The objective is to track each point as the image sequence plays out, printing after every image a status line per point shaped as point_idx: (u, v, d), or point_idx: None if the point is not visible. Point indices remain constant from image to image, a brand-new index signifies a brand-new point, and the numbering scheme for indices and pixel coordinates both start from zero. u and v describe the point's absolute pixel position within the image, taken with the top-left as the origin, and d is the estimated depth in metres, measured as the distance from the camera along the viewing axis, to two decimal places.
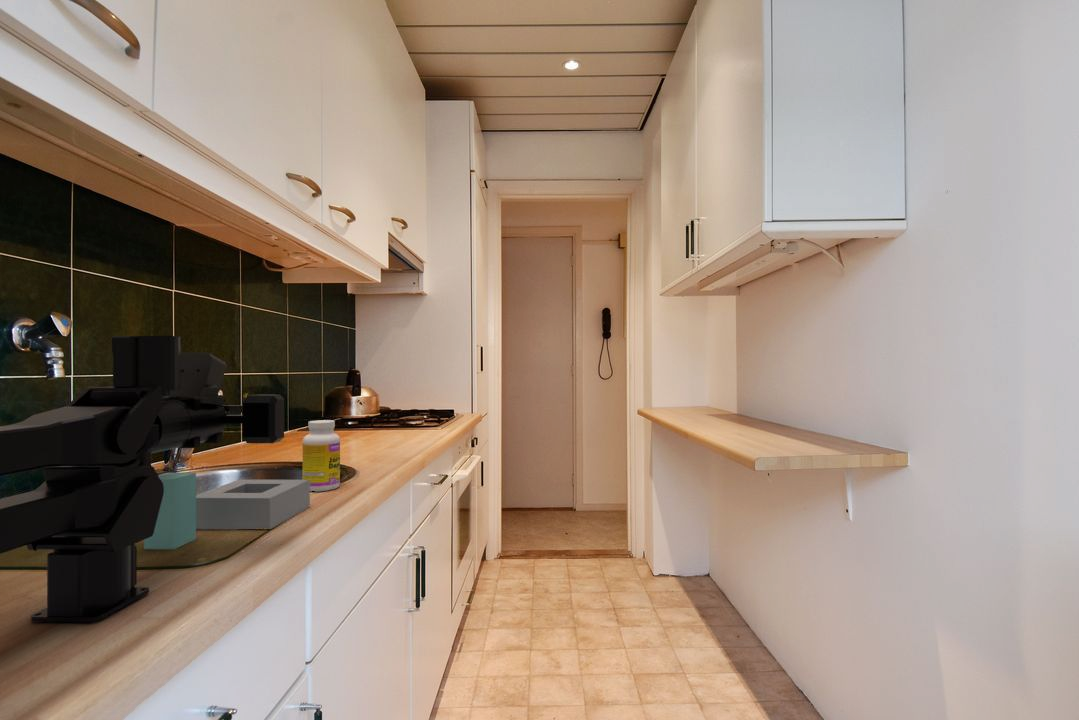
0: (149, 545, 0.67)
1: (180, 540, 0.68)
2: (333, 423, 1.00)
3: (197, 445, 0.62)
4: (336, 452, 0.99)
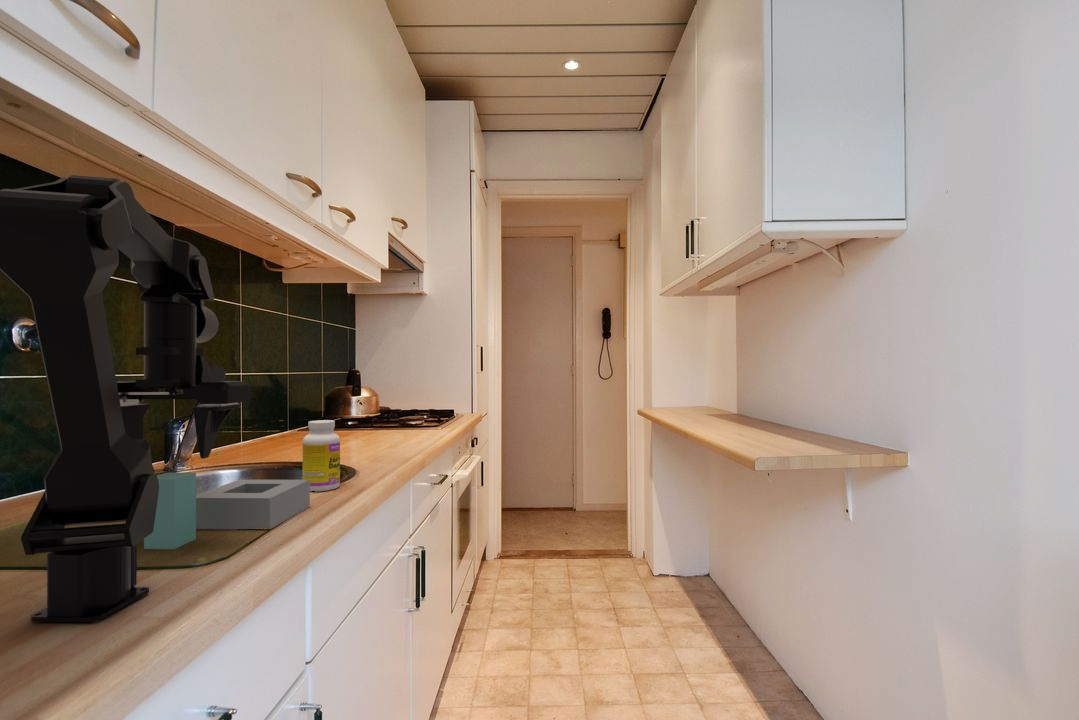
0: (149, 545, 0.67)
1: (180, 540, 0.68)
2: (333, 423, 1.00)
3: (173, 350, 0.66)
4: (336, 452, 0.99)
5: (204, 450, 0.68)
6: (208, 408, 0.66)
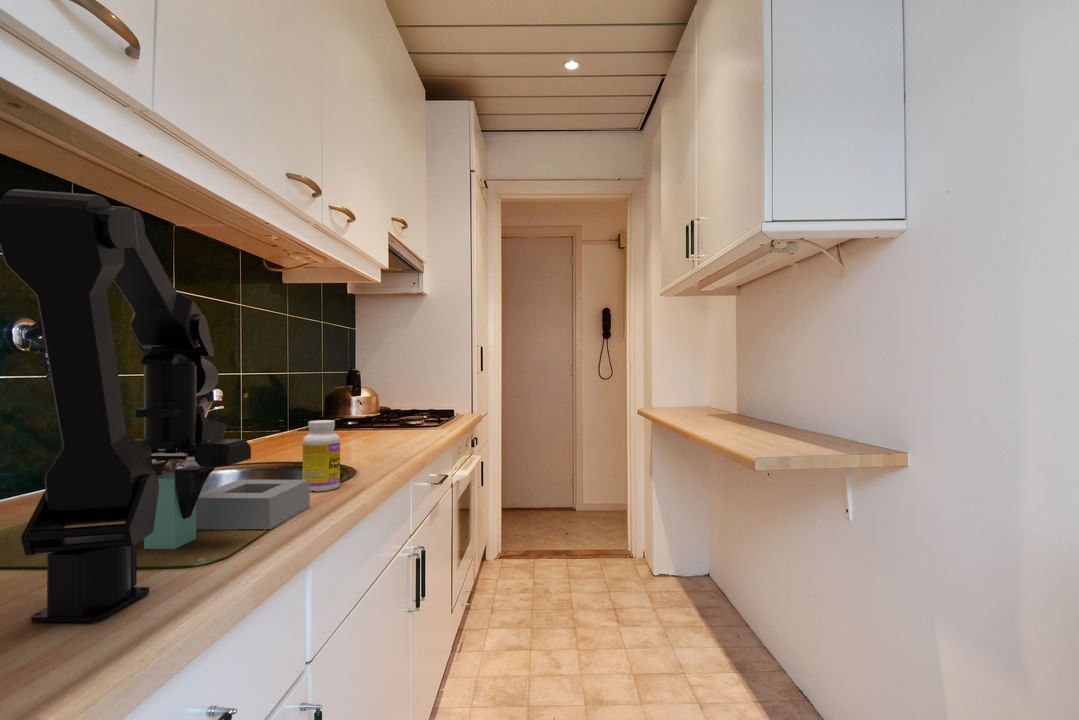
0: (149, 545, 0.67)
1: (180, 540, 0.68)
2: (333, 423, 1.00)
3: (173, 412, 0.66)
4: (336, 452, 0.99)
5: (186, 510, 0.68)
6: (189, 471, 0.66)
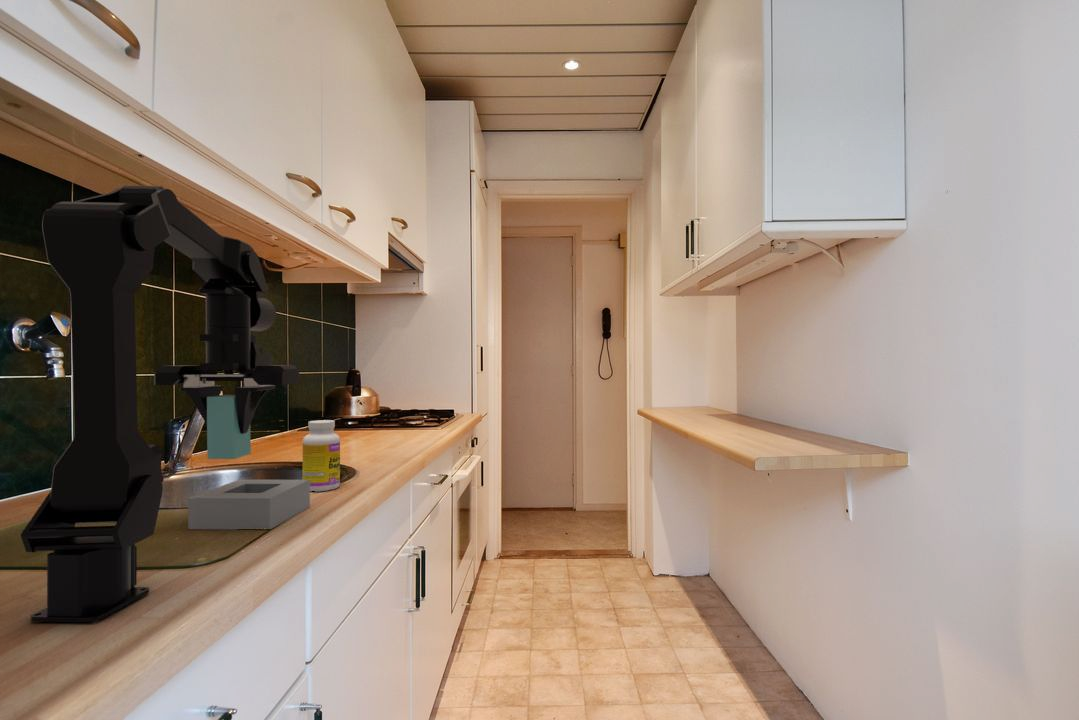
0: (211, 455, 0.75)
1: (239, 452, 0.77)
2: (333, 423, 1.00)
3: (233, 337, 0.75)
4: (336, 452, 0.99)
5: (244, 426, 0.77)
6: (248, 388, 0.74)
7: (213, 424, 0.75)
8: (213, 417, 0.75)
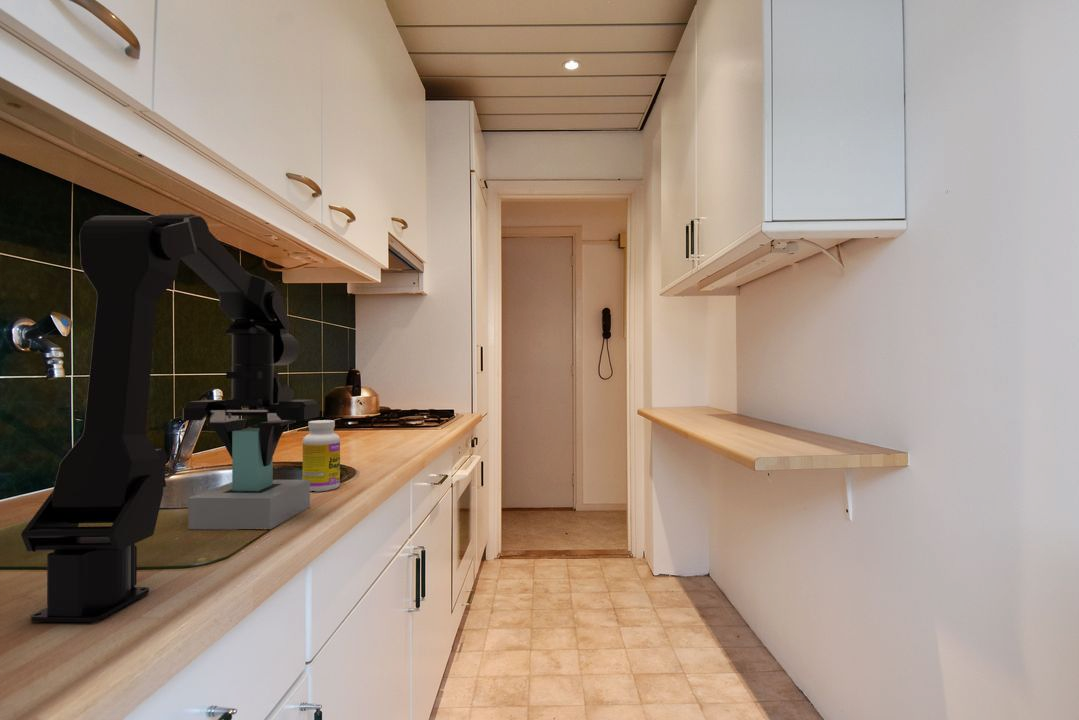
0: (236, 487, 0.79)
1: (262, 483, 0.80)
2: (333, 423, 1.00)
3: (258, 374, 0.78)
4: (336, 452, 0.99)
5: (266, 459, 0.80)
6: (272, 424, 0.78)
7: (238, 457, 0.79)
8: (238, 450, 0.79)
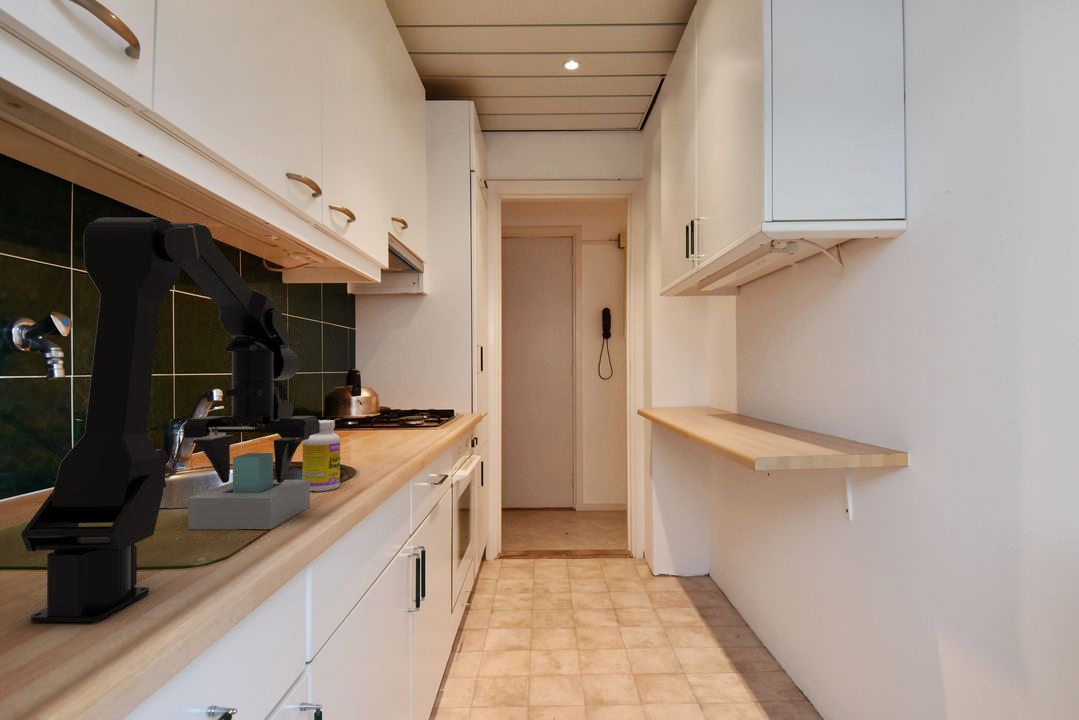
0: None
1: None
2: (333, 423, 1.00)
3: (258, 392, 0.78)
4: (336, 452, 0.99)
5: (281, 476, 0.80)
6: (286, 441, 0.78)
7: (239, 483, 0.79)
8: (238, 477, 0.79)
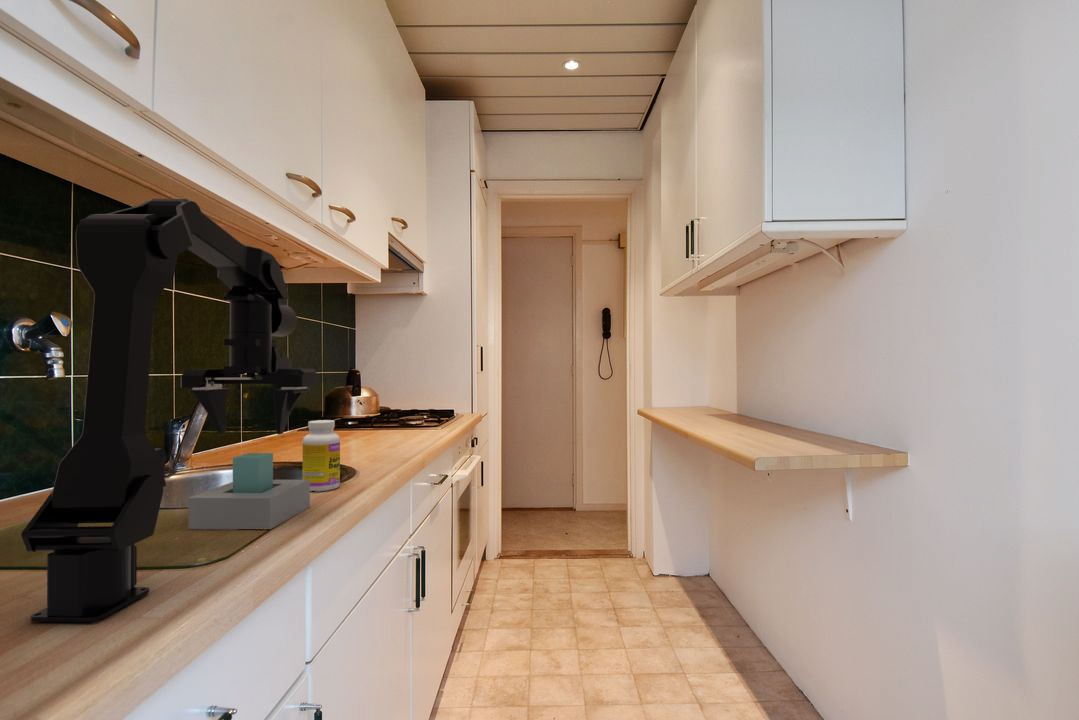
0: None
1: None
2: (333, 423, 1.00)
3: (256, 342, 0.78)
4: (336, 452, 0.99)
5: (280, 427, 0.80)
6: (286, 391, 0.78)
7: (239, 483, 0.79)
8: (238, 477, 0.79)
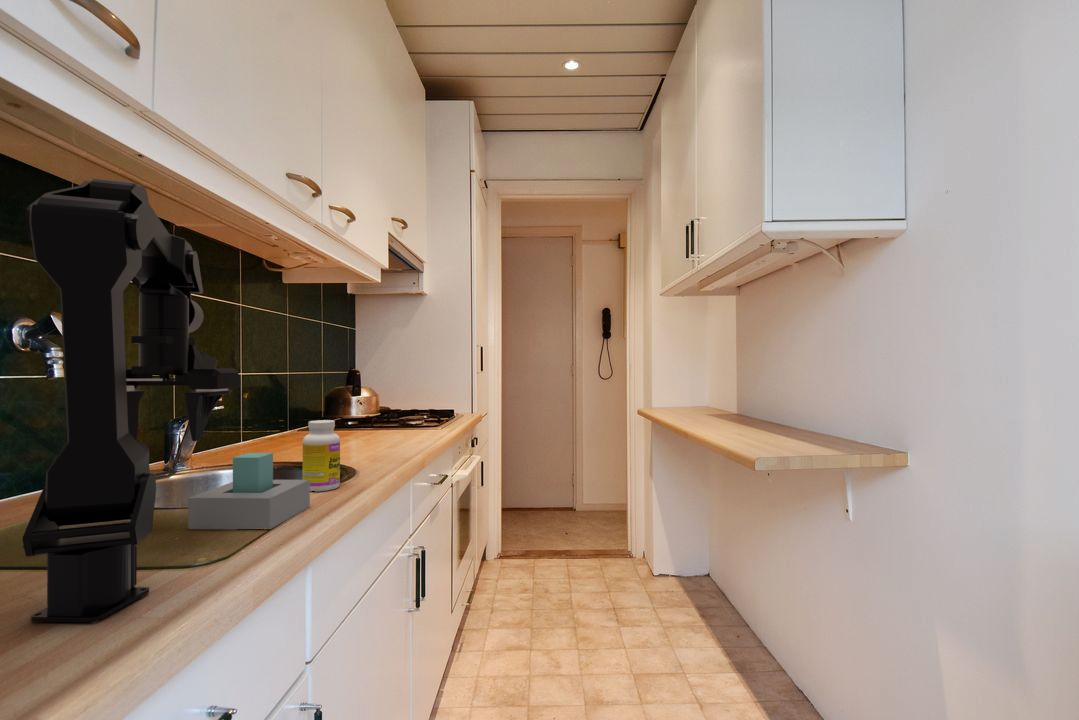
0: None
1: None
2: (333, 423, 1.00)
3: (167, 339, 0.71)
4: (336, 452, 0.99)
5: (195, 433, 0.72)
6: (199, 393, 0.70)
7: (239, 483, 0.79)
8: (238, 477, 0.79)
